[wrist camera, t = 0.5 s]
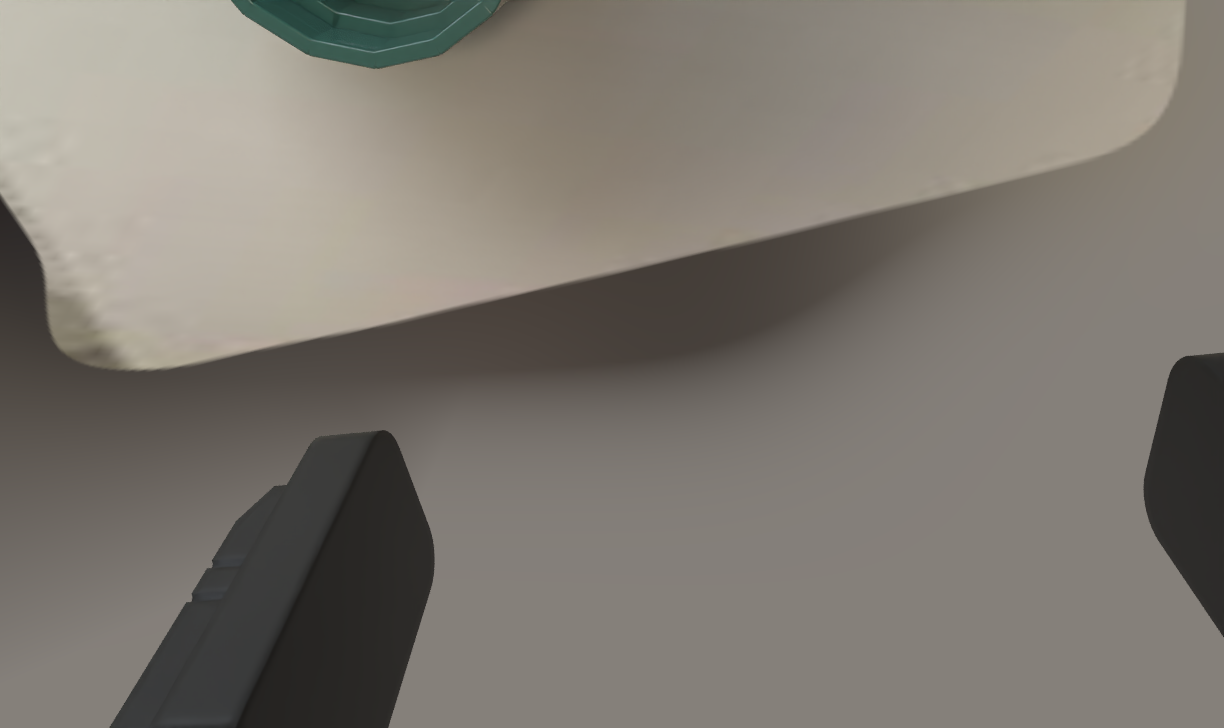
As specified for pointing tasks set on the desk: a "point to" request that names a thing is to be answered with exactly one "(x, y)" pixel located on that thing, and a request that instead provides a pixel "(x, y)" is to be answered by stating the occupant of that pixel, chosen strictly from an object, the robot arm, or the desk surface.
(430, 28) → the bowl
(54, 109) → the desk surface
